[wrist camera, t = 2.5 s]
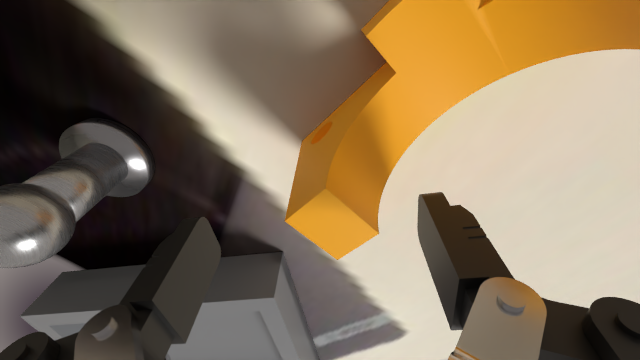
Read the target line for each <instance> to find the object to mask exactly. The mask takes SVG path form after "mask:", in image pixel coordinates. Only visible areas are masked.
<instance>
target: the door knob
mask: <svg viewBox="0 0 640 360" xmlns="http://www.w3.org/2000/svg"><path fill="white" fill-rule="evenodd" d="M59 151H60V155H61V158H62V159H61V160H60V161H58V162H56V163H55V164H53V165H51V166H50V167H48V168H46V169H45V170H43V171H41V172H40V173H38V174H37V175H35V176H33V177H32V178H30V179H28V180H27V181H25V182H23V183H22V184H9V185H4V186H0V268H18V267H25V266H29V265H33V264H36V263H39V262H42V261H44V260H46V259H48V258H50V257H52V256H53V255H55V254H56V253H57V252H59V251H60V250H61V249H62V248H63V247H64V246H65V245H66V244H67V243H68V242H69V240H70V239H71V237H72V235H73V233H74V230H75V225H76V222H77V221H78V220H79V219H80V218H81V217H82V216H83V215H84V214H86V213H87V212H88V211H89V210H90V209H91V208H92V207H93V206H95V205H96V204H97V203H98V202H99V201H100V200H101V199H102V198H104V197H105V196H106V195H109V196H115V197H128V196H132V195H135V194H137V193H139V192H140V191H141V190H142V189H143V188H144V187H145V186H146V185H147V184H148V183H149V182H150V181H151V180H152V178H153V176H154V173H155V161H154V157H153V155H152V153H151V151H150V149H149V147H148V146H147V144H146V143H145V142H144V141H143V140H142V139H141V138H140V137H139V136H138V135H137V134H136V133H135V132H133V131H132V130H131V129H129V128H128V127H126V126H124V125H122V124H120V123H118V122H115V121H113V120H109V119H104V118H90V119H86V120H83V121H81V122H79V123H77V124H75V125H73V126H71V127H69V128H68V129H66V130H65V131H64V132H63V134H62V135H61V137H60V140H59Z"/></svg>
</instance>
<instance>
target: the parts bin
mask: <svg viewBox="0 0 640 360" xmlns="http://www.w3.org/2000/svg"><path fill="white" fill-rule="evenodd" d="M145 265H146V264H145ZM145 265H135V266H124V267H113V268H102V269H92V270H81V271H71V272H62V273H61V274H60V275H59V277H58V278H57V279H56V280H55V281H54V282H53V283H52V284H51V285H50V286H49V287H48V288H47V289H46V290H45V291H44V292H43V293H42V294H41V295H40V296H39V297H38V298H37V299H36V300H35V301H34V302H33V303H32V304H31V305H30V306H29V307H28V308H27V309H26V310H25V312H23V314H22V315H21V316H20V317H21V318H23V319H24V320H25V321H27V322H28V323H29V324H30V325H31V326H33V327H34V328H35V329H36V330H38V331H39V332H44V333H46V334H47V335H48V336H50V337H51V338H52V339H53V340H58V339H60V338H63V337H66V336H69V335H72V334H74V333H77V332H79V331H80V330H81V329H82V327H83V326H84V325H85V324H86V323H87V322H88V321H89V320H90V319H91V318H92V317H93V316H95V315H96V314H97V313H99V312H100V311H102V310H104V309H106V308H108V307H111V306H114V305H118V304H119V303H120V301H121V300H122V299H123V297H124V296H125V294H126V293H127V291H128V290H129V288H130V287H131V285H132V284H133V282H134V281H135V279H136V278H137V276H138V275H139V274H140V272H141V271H142V269H143V268H144V267H145ZM168 354H169V356H170V358H171V360H320V359H319V356H318V353H317V350H316V348H315V345H314V342H313V339H312V336H311V333H310V330H309V327H308V324H307V321H306V318H305V315H304V312H303V309H302V306H301V303H300V300H299V297H298V295H297V292H296V289H295V286H294V283H293V280H292V277H291V274H290V271H289V268H288V265H287V262H286V259H285V256H284V253H283V252H274V253H263V254H253V255H242V256H231V257H221V258H220V262H219V264H218V266H217V269H216V271H215V274H214V276H213V279H212V281H211V283H210V286H209V288H208V291H207V293H206V295H205V298H204V300H203V303H202V305H201V308H200V310H199V312H198V315H197V317H196V320H195V322H194V325H193V327H192V329H191V332H190V334H189V337H188V339H187V341H186V344H171V346H170V348H169V350H168Z"/></svg>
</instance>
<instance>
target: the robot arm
mask: <svg viewBox="0 0 640 360" xmlns="http://www.w3.org/2000/svg"><path fill="white" fill-rule="evenodd" d="M418 236H419V241H420V244H421V247H422V250H423V253H424V256H425V258H426V261H427V264H428V267H429V270H430V272H431V275H432V278H433V281H434V284H435V286H436V289H437V292H438V295H439V298H440V301H441V303H442V306H443V309H444V312H445V315H446V317H447V320H448V323H449V326H450V329H451V330H463V331H462V333H461V336H460V338H459V341H458V343H457V346H456V348H455V350H454V352H452V353H451V354H450V356H449V358H448V360H640V304H638V303H636V302H633V301H630V300H626V299H623V298H617V297H603V298H600V299H597V300H596V301H594V302H593V303H592V305H591V306H590V308H584V307H579V306H574V305H569V304H564V303H559V302H554V301H550V300H547V299H544V298H541V297H540V296H539V295H538V294H537V293H536V292H535V291H534V290H533V289H532V288H530V287H529V286H527V285H526V284H524V283H522V282H520V281H517V280H515V279H514V278H513V276H512V275H511V273H510V272H509V270H508V268H507V267H506V265H505V264H504V262H503V261H502V259H501V258H500V256H499V254H498V253H497V251H496V250H495V248H494V247H493V245H492V243H491V242H490V240H489V239H488V238H487V237H486V234H485V233H484V231H483V229H482V228H480V225H479V223H478V222H477V220H476V218H475V217H474V215H473V214H472V213H470V212H469V211H468V210H466V209H465V208H464V207H462V206H461V205H455V206H450V205H449V203H448V201H447V199H446V197H445V196H444V194H443V193H442V192H438V193H429V194H420V195H419V199H418ZM220 258H221V248H220V245H219V243H218V240H217V238H216V236H215V234H214V232H213V230H212V228H211V226H210V224H209V222H208V220H207V219H206V218H205V217H199V218H190V219H184V220H182V221H181V222H180V224H179V226H178V227H177V229H176V230H175V232H174V233H173V234H170V235H169V236H168V237H167V238H166V239H165V240H164V241H162V242H161V243H160V244H159V246H158V247H157V249H156V250H155V251H154V253H153V254H152V258H150V259H149V260H148V262H147V263H146V265H145V267H144V268H143V269H142V271H141V272H140V274H139V275H138V276H137V278H136V279H135V281H134V282H133V284H132V285H131V287H130V288H129V290H128V291H127V293H126V294H125V296H124V297H123V299H122V300H121V301H120V303H119V304H118V305H114V306H111V307H108V308H106V309H104V310H102V311H100V312H99V313H97V314H96V315H95V316H93V317H92V318H91V319H90V320H89V321H88V322H87V323H86V324H85V325H84V326H83V327H82V329H81V330H80V331H79V332H77V333H74V334H72V335H69V336H66V337H63V338H60V339H58V340H53V339H52V338H51V337H50V336H48V335H47V334H46V333H44V332H35V333H31V334H29V335H26V336H24V337H22V338H20V339H18V340H17V341H15V342H14V343H12V344H11V345H10V346H8V347H7V348H6V349H5V350H3V351H2V352H1V353H0V360H171V358H170V356H169V354H168V350H169V348H170V346H171V344H186V341H187V339H188V337H189V334H190V332H191V329H192V327H193V325H194V322H195V320H196V317H197V315H198V312H199V310H200V308H201V305H202V303H203V300H204V298H205V295H206V293H207V291H208V288H209V286H210V283H211V281H212V279H213V276H214V274H215V271H216V269H217V266H218V264H219V262H220Z"/></svg>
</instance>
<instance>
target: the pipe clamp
mask: <svg viewBox="0 0 640 360" xmlns="http://www.w3.org/2000/svg"><path fill="white" fill-rule="evenodd" d="M361 30H362V32H363V33H364V34H365V36H366V37H367V38H368V39H369V40H370V42H371V43H372V44H373V45H374V46H375V48H376V49H377V50H378V51H379V53H380V54H381V55H382V56H383V57H384V59H385V60H386V61H387V62H386V63H385V64H384V65H383V66H382V67H381V68H380V69H379V70H378V71H376V72H375V73H374V74H373V75H372V76H371V77H370V78H369V79H368V80H367V81H366V82H365V83H364V84H363V85H362V86H360V87H359V88H358V89H357V90H356V91H355V92H354V93H353V94H352V95H351V96H350V97H349V98H348V99H347V100H346V101H344V102H343V103H342V104H341V105H340V106H339V107H338V108H337V109H336V110H335V111H334V112H333V113H332V114H331V115H330V116H328V117H327V118H326V119H325V120H324V121H323V122H322V123H321V124H320V125H319V126H318V127H317V128H316V129H315V130H314V131H312V132H311V133H310V134H309V135H308V136H307V137H306V138H305V139H304V140H303V141H302V144H301V148H300V153H299V158H298V162H297V167H296V171H295V176H294V181H293V185H292V190H291V195H290V199H289V204H288V209H287V213H286V218H285V222H287V223H288V224H289V225H291V226H292V227H294V228H295V229H296V230H298V231H299V232H300V233H302V234H303V235H304V236H306V237H307V238H308V239H310V240H311V241H312V242H314V243H315V244H317V245H318V246H319V247H321V248H322V249H323V250H325V251H326V252H327V253H329V254H330V255H331V256H333V257H334V258H336V259H337V260H338V259H340V258H341V257H343V256H345V255H346V254H348V253H349V252H351V251H352V250H354V249H356V248H357V247H359V246H360V245H362V244H363V243H365V242H366V241H368V240H370V239H371V238H373V237H374V236H376V235H377V234H379V230H378V210H379V204H380V199H381V195H382V192H383V189H384V187H385V184H386V182H387V180H388V178H389V176H390V174H391V172H392V170H393V168H394V167H395V165H396V163H397V162H398V160H399V159H400V157H401V156H402V155H403V153H404V152H405V151H406V149H407V148H408V147H409V146H410V145H411V143H412V142H413V141H414V140H415V139H416V138H417V137H418V136H419V135H420V134H421V133H422V132H423V131H424V130H425V129H426V128H427V127H428V126H429V125H430V124H431V123H432V122H434V121H435V120H436V119H437V118H438V117H439V116H441V115H442V114H443V113H445V112H446V111H447V110H448V109H450V108H451V107H453V106H454V105H455V104H457V103H458V102H460V101H461V100H463V99H464V98H466V97H468V96H469V95H471V94H472V93H474V92H476V91H478V90H479V89H481V88H483V87H485V86H487V85H489V84H491V83H492V82H494V81H496V80H499V79H501V78H503V77H505V76H507V75H510V74H512V73H514V72H517V71H519V70H522V69H524V68H527V67H530V66H533V65H536V64H539V63H542V62H545V61H549V60H552V59H556V58H560V57H564V56H568V55H573V54H579V53H584V52H591V51H599V50H610V49H640V0H389V1H388V2H387V3H386V4H385V5H384V6H383V7H382V8H381V10H380V11H379V12H378V13H377V14H376V15H375V16H374V17H373V18H372V19H371V20H370V21H369V22H368V23H367V24H366V25H365V26H364V27H363V28H362V29H361Z"/></svg>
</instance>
